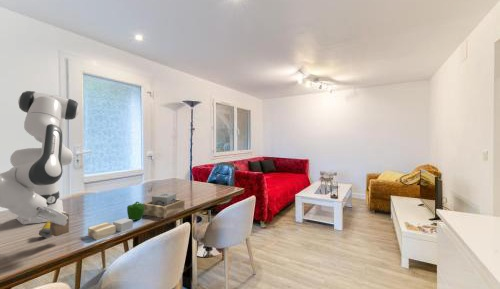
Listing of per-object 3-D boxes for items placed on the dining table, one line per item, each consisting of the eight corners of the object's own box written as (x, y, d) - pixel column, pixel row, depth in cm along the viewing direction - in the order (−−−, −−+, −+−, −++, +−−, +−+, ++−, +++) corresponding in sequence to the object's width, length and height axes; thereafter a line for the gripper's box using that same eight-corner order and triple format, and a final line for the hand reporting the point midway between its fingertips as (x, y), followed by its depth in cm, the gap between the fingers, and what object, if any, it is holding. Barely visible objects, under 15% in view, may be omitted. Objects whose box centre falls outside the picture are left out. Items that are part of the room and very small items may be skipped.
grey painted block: (113, 229, 109) (113, 221, 109) (124, 225, 115) (124, 217, 115) (121, 232, 107) (121, 224, 107) (132, 227, 112) (132, 219, 112)
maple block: (88, 236, 102) (87, 227, 102) (106, 230, 109) (106, 222, 109) (96, 240, 98) (96, 231, 98) (115, 234, 105) (115, 225, 105)
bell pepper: (125, 218, 124) (125, 200, 124) (141, 215, 129) (141, 198, 129) (129, 223, 118) (129, 204, 117) (145, 219, 123) (145, 201, 123)
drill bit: (34, 241, 97) (39, 220, 103) (49, 242, 101) (52, 222, 107) (41, 235, 96) (46, 214, 102) (56, 236, 100) (59, 216, 106)
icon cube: (176, 209, 142) (176, 193, 141) (166, 214, 132) (166, 197, 131) (162, 207, 144) (162, 192, 143) (152, 212, 134) (151, 196, 134)
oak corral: (142, 213, 132) (142, 203, 132) (163, 205, 147) (163, 196, 147) (164, 218, 125) (164, 207, 125) (184, 209, 141) (184, 199, 141)
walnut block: (50, 234, 94) (50, 215, 94) (62, 230, 98) (62, 212, 98) (56, 236, 92) (56, 217, 92) (68, 232, 96) (68, 214, 96)
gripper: (53, 202, 84) (81, 219, 93) (25, 195, 92) (54, 212, 101) (38, 218, 80) (69, 234, 89) (10, 209, 88) (41, 225, 98)
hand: (61, 222), depth 96 cm, fingers closed on walnut block, 4 cm apart
